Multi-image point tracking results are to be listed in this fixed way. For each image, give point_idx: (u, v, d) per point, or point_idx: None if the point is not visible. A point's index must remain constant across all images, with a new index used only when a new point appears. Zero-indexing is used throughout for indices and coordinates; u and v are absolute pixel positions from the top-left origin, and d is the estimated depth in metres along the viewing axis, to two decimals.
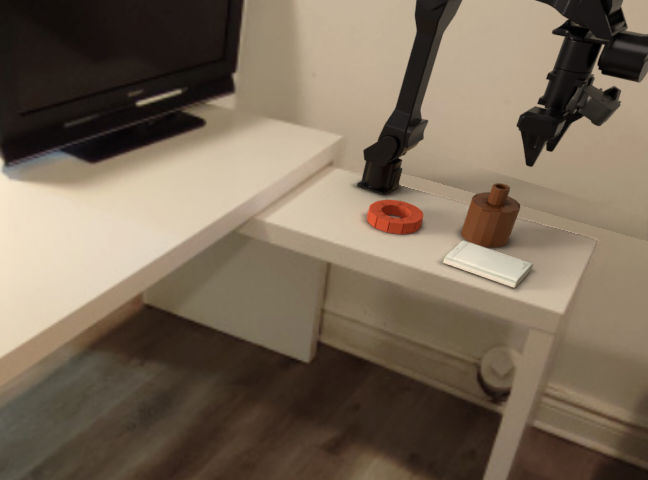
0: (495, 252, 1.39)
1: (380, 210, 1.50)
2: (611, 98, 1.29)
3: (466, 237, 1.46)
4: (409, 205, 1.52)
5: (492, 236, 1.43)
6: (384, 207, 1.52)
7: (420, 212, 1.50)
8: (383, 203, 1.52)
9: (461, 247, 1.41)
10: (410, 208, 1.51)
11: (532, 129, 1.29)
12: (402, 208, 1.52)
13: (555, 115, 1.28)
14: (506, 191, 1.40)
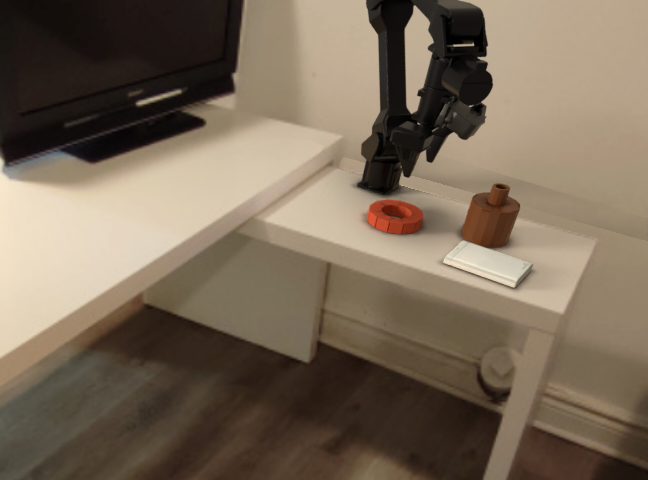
0: (495, 252, 1.39)
1: (380, 210, 1.50)
2: (477, 113, 1.38)
3: (466, 237, 1.46)
4: (409, 205, 1.52)
5: (492, 236, 1.43)
6: (384, 207, 1.52)
7: (420, 212, 1.50)
8: (383, 203, 1.52)
9: (461, 247, 1.41)
10: (410, 208, 1.51)
11: (403, 143, 1.38)
12: (402, 208, 1.52)
13: (423, 130, 1.36)
14: (506, 191, 1.40)
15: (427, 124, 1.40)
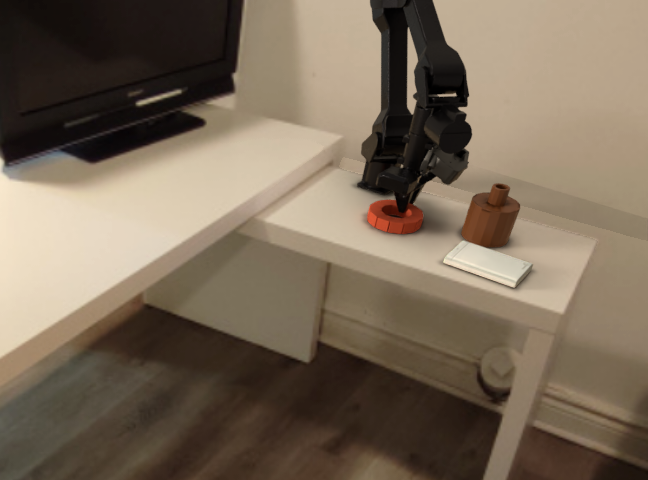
0: (495, 252, 1.39)
1: (380, 210, 1.50)
2: (459, 159, 1.43)
3: (466, 237, 1.46)
4: (409, 205, 1.52)
5: (492, 236, 1.43)
6: (384, 207, 1.52)
7: (420, 212, 1.50)
8: (383, 203, 1.52)
9: (461, 247, 1.41)
10: (410, 208, 1.51)
11: (388, 187, 1.43)
12: None
13: (407, 175, 1.41)
14: (506, 191, 1.40)
15: (412, 169, 1.45)
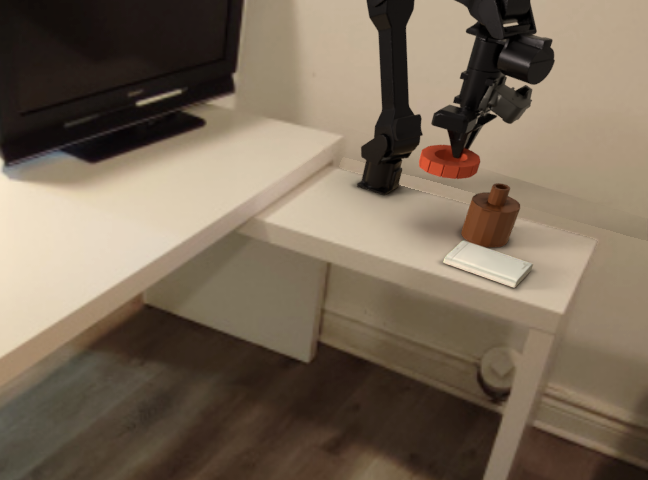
0: (495, 252, 1.39)
1: (433, 154, 1.41)
2: (522, 97, 1.33)
3: (466, 237, 1.46)
4: (464, 150, 1.42)
5: (492, 236, 1.43)
6: (437, 152, 1.43)
7: (477, 156, 1.40)
8: (436, 148, 1.43)
9: (461, 247, 1.41)
10: (466, 153, 1.42)
11: (445, 127, 1.34)
12: None
13: (466, 113, 1.32)
14: (506, 191, 1.40)
15: (470, 108, 1.36)
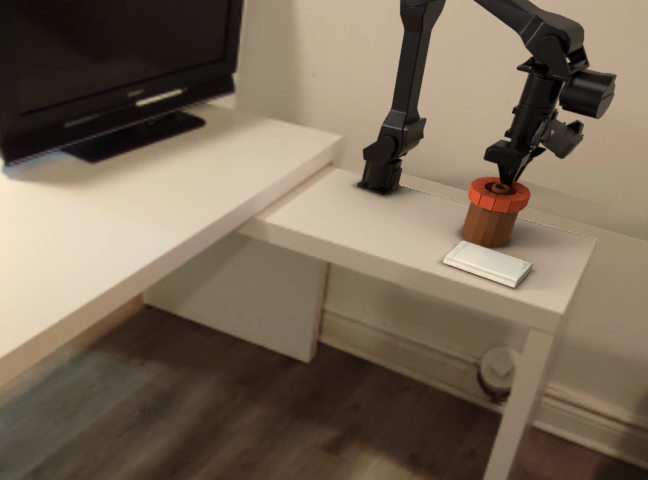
0: (495, 252, 1.39)
1: (483, 187, 1.41)
2: (574, 132, 1.34)
3: (466, 237, 1.46)
4: (513, 182, 1.43)
5: (492, 236, 1.43)
6: (486, 185, 1.43)
7: (526, 189, 1.41)
8: (485, 181, 1.43)
9: (461, 247, 1.41)
10: (515, 185, 1.42)
11: (498, 162, 1.34)
12: None
13: (520, 148, 1.32)
14: (506, 191, 1.40)
15: (521, 142, 1.36)
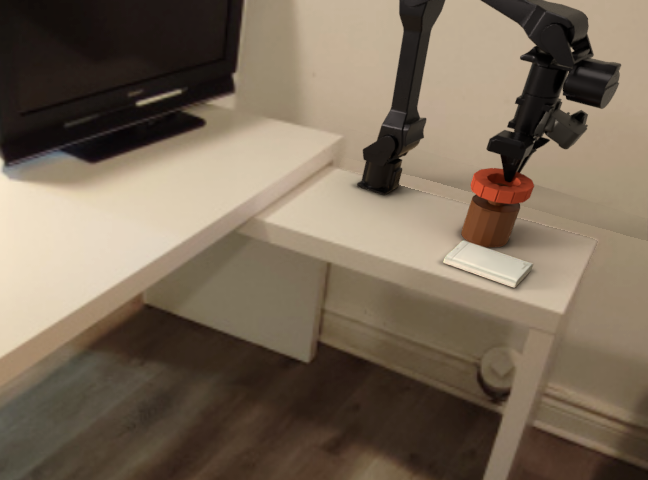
0: (495, 252, 1.39)
1: (486, 178, 1.40)
2: (578, 122, 1.33)
3: (466, 237, 1.46)
4: (516, 173, 1.42)
5: (492, 236, 1.43)
6: (489, 176, 1.42)
7: (530, 181, 1.40)
8: (488, 172, 1.42)
9: (461, 247, 1.41)
10: (518, 177, 1.41)
11: (501, 152, 1.33)
12: None
13: (523, 139, 1.31)
14: None
15: (525, 133, 1.35)
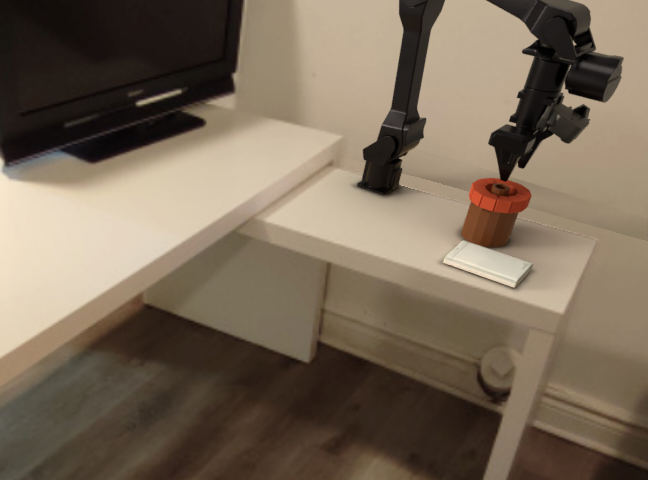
0: (495, 252, 1.39)
1: (484, 188, 1.42)
2: (580, 116, 1.32)
3: (466, 237, 1.46)
4: (514, 183, 1.44)
5: (492, 236, 1.43)
6: (487, 186, 1.44)
7: (527, 191, 1.41)
8: (486, 182, 1.44)
9: (461, 247, 1.41)
10: (516, 186, 1.43)
11: (503, 147, 1.32)
12: None
13: (525, 133, 1.31)
14: (506, 191, 1.40)
15: (527, 127, 1.34)
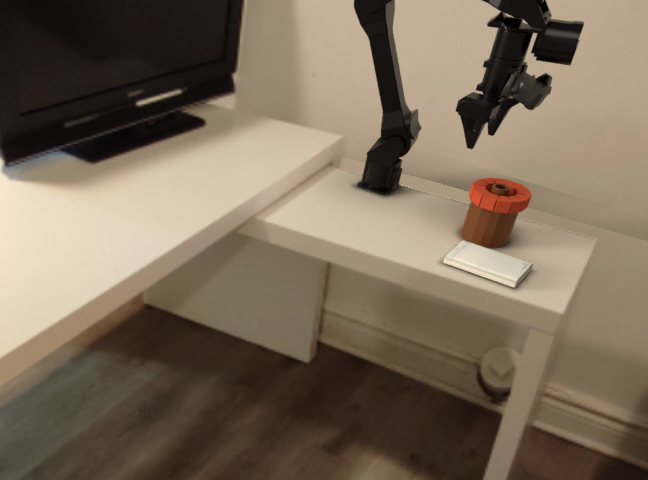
0: (495, 252, 1.39)
1: (484, 188, 1.42)
2: (543, 84, 1.39)
3: (466, 237, 1.46)
4: (514, 183, 1.44)
5: (492, 236, 1.43)
6: (487, 186, 1.44)
7: (527, 191, 1.41)
8: (486, 182, 1.44)
9: (461, 247, 1.41)
10: (516, 186, 1.43)
11: (469, 113, 1.39)
12: None
13: (490, 100, 1.38)
14: (506, 191, 1.40)
15: (492, 95, 1.41)
